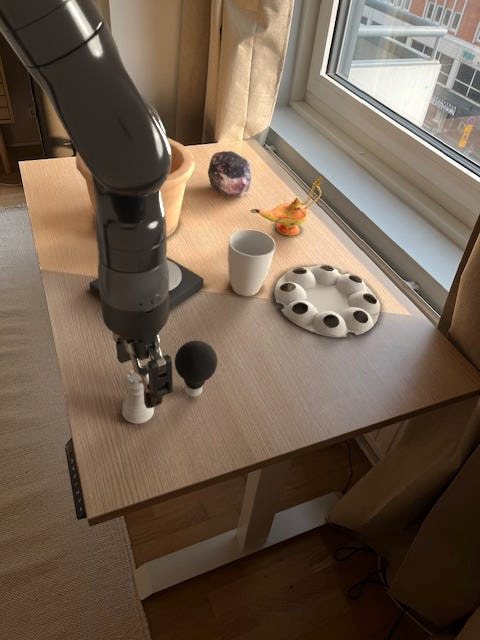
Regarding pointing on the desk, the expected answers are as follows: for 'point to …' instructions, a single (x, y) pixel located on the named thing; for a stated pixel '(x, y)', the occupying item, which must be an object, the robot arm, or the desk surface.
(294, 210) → the magic lamp
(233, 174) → the mineral specimen
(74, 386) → the desk surface
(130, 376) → the rook chess piece
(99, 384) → the desk surface
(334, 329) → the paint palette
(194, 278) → the scale
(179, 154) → the pottery
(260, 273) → the cup
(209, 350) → the light bulb
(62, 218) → the desk surface
